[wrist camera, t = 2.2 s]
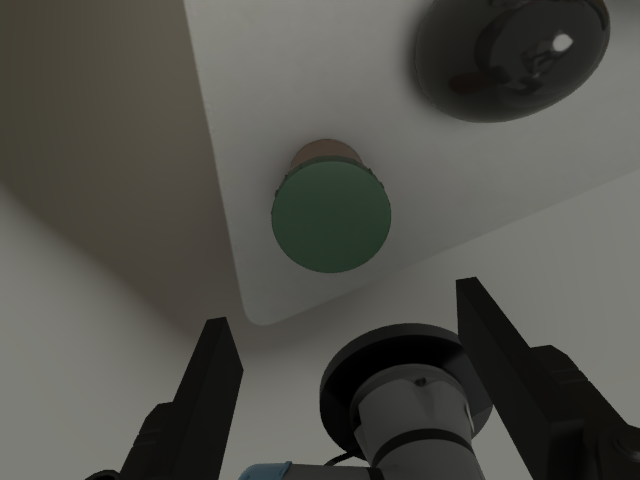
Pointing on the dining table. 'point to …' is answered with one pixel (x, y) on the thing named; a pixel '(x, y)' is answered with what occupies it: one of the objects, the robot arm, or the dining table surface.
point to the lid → (331, 214)
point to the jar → (323, 151)
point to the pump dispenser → (508, 55)
